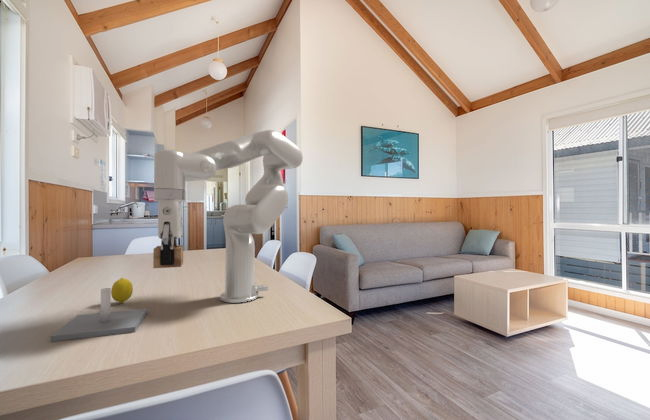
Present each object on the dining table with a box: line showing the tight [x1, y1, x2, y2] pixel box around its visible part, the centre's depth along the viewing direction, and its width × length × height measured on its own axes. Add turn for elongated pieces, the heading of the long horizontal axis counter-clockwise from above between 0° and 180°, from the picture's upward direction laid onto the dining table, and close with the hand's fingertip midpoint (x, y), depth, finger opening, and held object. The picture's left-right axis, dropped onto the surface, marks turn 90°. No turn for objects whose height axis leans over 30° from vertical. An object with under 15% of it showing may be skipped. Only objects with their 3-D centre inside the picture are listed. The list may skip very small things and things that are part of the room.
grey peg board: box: [50, 287, 148, 342], centre depth 74 cm, size 16×14×9 cm
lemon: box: [111, 277, 134, 304], centre depth 91 cm, size 6×6×8 cm
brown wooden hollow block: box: [152, 244, 184, 269], centre depth 79 cm, size 6×6×5 cm
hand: (169, 262), depth 79 cm, fingers closed on brown wooden hollow block, 6 cm apart
